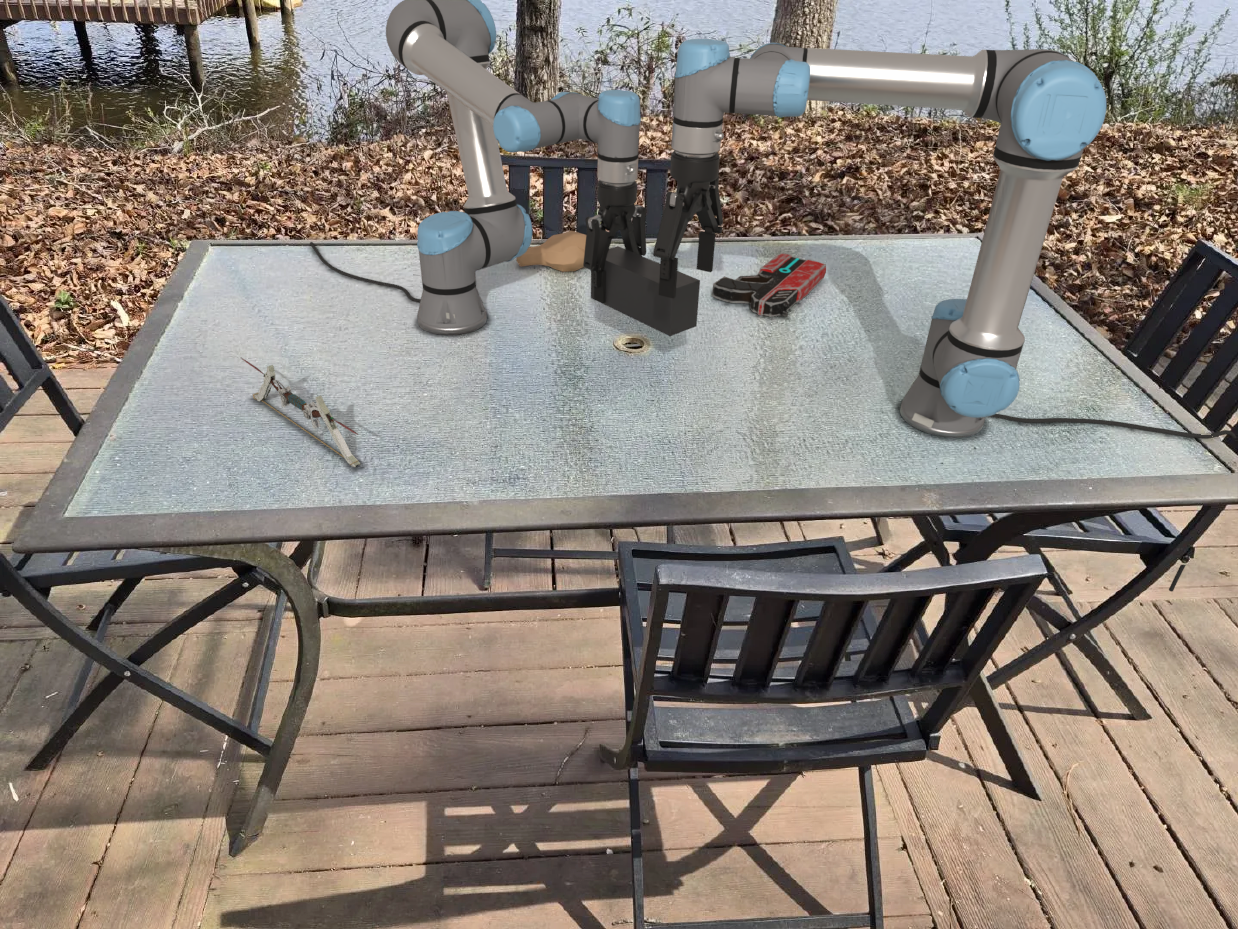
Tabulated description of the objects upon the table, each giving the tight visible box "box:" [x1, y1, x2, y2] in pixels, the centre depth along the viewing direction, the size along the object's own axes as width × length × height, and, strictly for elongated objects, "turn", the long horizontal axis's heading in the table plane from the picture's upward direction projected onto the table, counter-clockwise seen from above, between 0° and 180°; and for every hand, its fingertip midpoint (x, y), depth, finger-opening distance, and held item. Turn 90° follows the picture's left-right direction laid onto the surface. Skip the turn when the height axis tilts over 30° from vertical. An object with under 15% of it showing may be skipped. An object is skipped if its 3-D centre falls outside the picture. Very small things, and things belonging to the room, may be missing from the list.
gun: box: [711, 252, 827, 318], centre depth 215 cm, size 4×31×19 cm
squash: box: [515, 230, 586, 273], centre depth 224 cm, size 11×20×9 cm, turn 90°
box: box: [590, 245, 701, 337], centre depth 169 cm, size 23×7×9 cm, turn 41°
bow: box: [240, 356, 362, 468], centre depth 154 cm, size 39×2×10 cm, turn 47°
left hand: (614, 295), depth 176 cm, fingers closed on box, 7 cm apart
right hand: (686, 282), depth 146 cm, fingers open, 13 cm apart
